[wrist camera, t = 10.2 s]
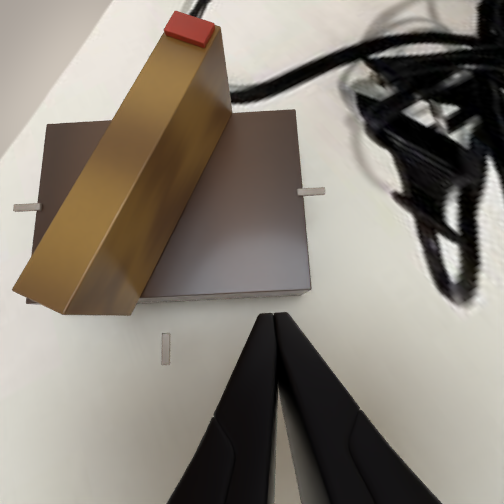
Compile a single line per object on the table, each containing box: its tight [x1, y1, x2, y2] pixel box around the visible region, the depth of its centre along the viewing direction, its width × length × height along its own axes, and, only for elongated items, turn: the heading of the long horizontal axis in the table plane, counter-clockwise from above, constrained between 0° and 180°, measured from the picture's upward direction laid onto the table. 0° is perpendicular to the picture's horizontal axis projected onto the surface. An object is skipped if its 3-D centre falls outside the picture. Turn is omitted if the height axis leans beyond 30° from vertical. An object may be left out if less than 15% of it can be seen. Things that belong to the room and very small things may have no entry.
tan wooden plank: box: [12, 11, 232, 316], centre depth 13 cm, size 12×2×5 cm, turn 157°
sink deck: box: [13, 109, 325, 365], centre depth 17 cm, size 16×16×4 cm
